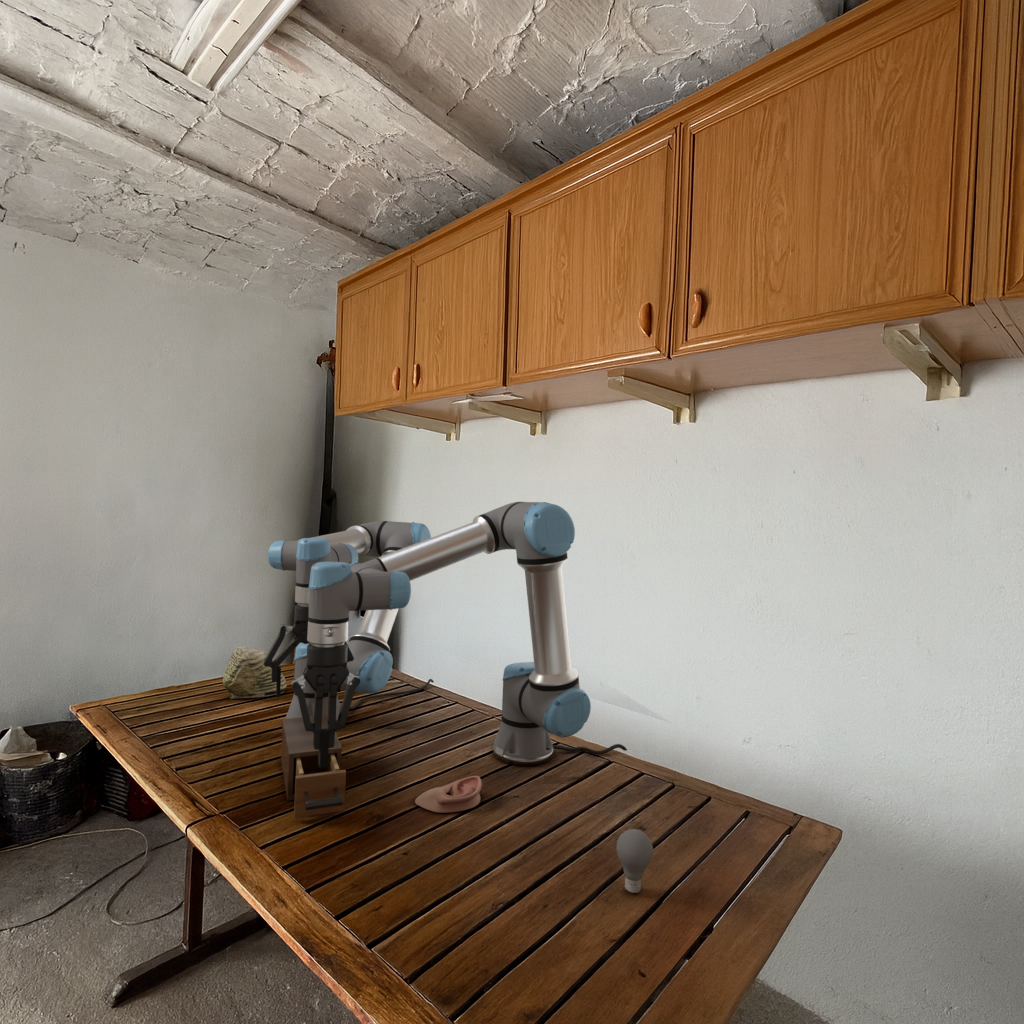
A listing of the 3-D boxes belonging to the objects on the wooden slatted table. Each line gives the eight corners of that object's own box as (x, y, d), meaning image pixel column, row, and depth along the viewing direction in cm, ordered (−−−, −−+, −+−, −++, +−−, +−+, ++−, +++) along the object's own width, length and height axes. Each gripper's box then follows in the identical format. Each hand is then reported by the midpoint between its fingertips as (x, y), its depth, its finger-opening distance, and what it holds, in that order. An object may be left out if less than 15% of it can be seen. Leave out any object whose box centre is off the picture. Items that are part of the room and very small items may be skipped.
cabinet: (340, 793, 136) (342, 747, 136) (287, 800, 131) (289, 753, 131) (327, 754, 155) (328, 714, 155) (280, 759, 151) (282, 719, 151)
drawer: (349, 825, 121) (351, 785, 121) (297, 834, 117) (298, 792, 117) (331, 769, 145) (332, 735, 145) (287, 774, 141) (288, 740, 141)
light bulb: (610, 879, 108) (613, 822, 108) (644, 879, 109) (647, 822, 109) (619, 902, 102) (622, 840, 102) (655, 901, 103) (658, 840, 103)
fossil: (218, 695, 195) (220, 647, 195) (278, 685, 208) (279, 640, 207) (228, 703, 189) (230, 653, 188) (289, 692, 201) (290, 645, 201)
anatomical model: (409, 789, 130) (428, 766, 141) (409, 808, 130) (427, 784, 141) (472, 798, 127) (486, 774, 138) (471, 818, 127) (485, 792, 138)
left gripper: (255, 608, 141) (252, 702, 142) (367, 604, 151) (364, 693, 152) (254, 602, 148) (251, 692, 149) (362, 599, 158) (359, 684, 158)
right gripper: (293, 649, 115) (288, 777, 116) (365, 645, 121) (360, 768, 121) (290, 640, 122) (285, 761, 123) (358, 637, 127) (354, 753, 128)
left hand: (308, 693), depth 150 cm, fingers open, 13 cm apart
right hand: (323, 764), depth 122 cm, fingers closed
